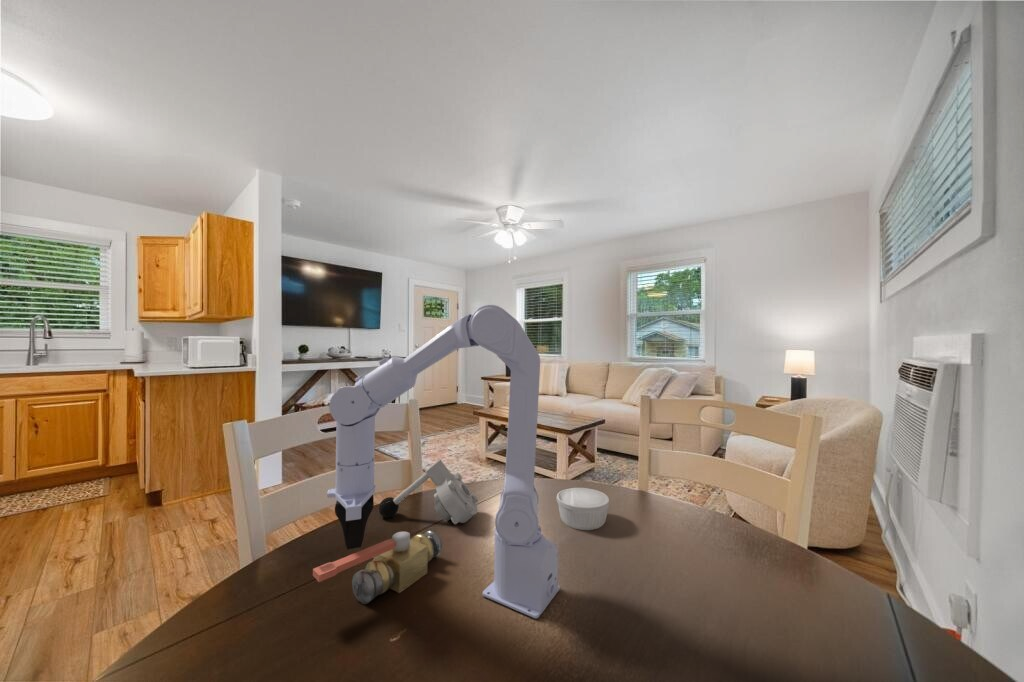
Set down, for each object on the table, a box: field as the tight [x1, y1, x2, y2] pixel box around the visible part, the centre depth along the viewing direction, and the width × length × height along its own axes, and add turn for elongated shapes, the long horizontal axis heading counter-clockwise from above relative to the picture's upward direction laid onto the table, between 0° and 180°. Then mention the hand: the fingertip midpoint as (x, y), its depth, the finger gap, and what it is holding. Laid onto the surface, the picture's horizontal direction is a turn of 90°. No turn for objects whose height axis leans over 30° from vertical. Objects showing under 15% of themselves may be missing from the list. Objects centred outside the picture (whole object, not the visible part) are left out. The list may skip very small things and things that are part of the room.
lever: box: [312, 531, 411, 583], centre depth 58 cm, size 15×3×2 cm, turn 138°
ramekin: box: [556, 487, 610, 531], centre depth 83 cm, size 11×11×5 cm
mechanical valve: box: [378, 459, 479, 525], centre depth 83 cm, size 10×18×15 cm
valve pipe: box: [351, 529, 443, 605], centre depth 62 cm, size 15×6×5 cm, turn 149°
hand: (354, 546), depth 60 cm, fingers closed
